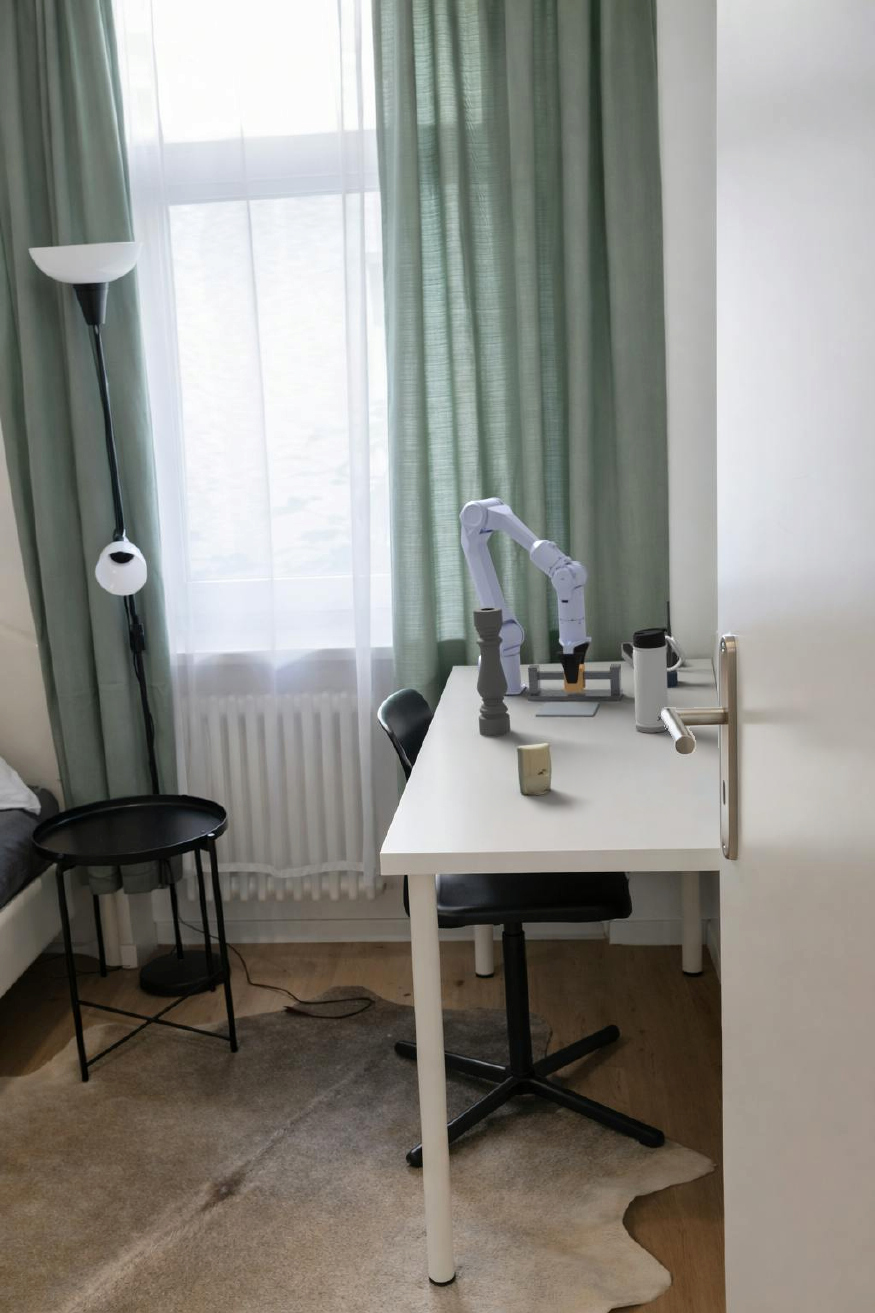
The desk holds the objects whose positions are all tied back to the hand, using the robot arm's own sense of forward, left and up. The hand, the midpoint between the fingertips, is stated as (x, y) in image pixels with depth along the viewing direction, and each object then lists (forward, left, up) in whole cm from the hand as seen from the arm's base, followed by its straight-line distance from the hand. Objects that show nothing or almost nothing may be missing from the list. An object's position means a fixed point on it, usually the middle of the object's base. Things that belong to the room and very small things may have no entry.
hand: (574, 679), depth 247 cm
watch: (+19, +12, -4) cm, 23 cm away
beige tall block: (+3, -63, -4) cm, 63 cm away
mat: (0, -11, -4) cm, 12 cm away
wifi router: (+13, +34, -5) cm, 37 cm away
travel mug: (+19, -25, -4) cm, 32 cm away
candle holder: (-12, -28, -4) cm, 31 cm away
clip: (0, 0, -2) cm, 2 cm away
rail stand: (0, 0, -4) cm, 4 cm away
